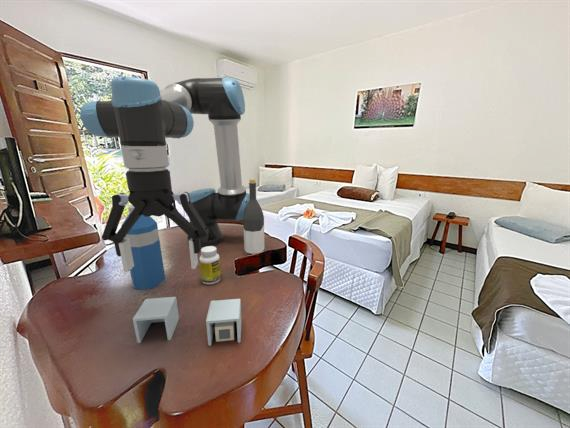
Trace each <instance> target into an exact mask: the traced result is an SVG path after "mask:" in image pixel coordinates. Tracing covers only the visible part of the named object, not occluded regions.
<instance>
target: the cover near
mask: <svg viewBox="0 0 570 428" xmlns="http://www.w3.org/2000/svg"><path fill="white" fill-rule="evenodd" d="M179 320H180V315H179V308H178V302H177V297H176V296H168V297H167V296H166V297H155V298H154V297H153V298H145V299H144V301H143V302H142V304H141V306H140V307H139V308H138V310H137V312H136V313H135V314H134V316H133V318H132V321H133V327H134V333H135V338H136V342H137V344H141V343H142V340H143V339H144V337H145V335H146V333H147V332H148V329H149V328H150V326H151V324H152V323H162V322H164V325H165V331H166V337H167V341H171V340H172V337H173V335H174V334H175V333H174V332H175V331H176V327H177V326H178V323H179Z"/></svg>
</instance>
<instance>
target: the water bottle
mask: <svg viewBox="0 0 570 428" xmlns="http://www.w3.org/2000/svg"><path fill="white" fill-rule="evenodd" d="M127 208H128V214H127V216H126V217H125V219H124V220H123V222H122V224H121V225H120V228H121V227H122V225H123V224H124V223H125V221H126V220H127V219H128V217H129V215H130V214H131V212H132V211H133V210H134V208H135V207H134V206H133V205H132V204H131V205H129V206H128V207H127ZM127 238H129V240H130V245H131V251H132V256H133V262H134V267H133V268H132V269H131V270H130V271H129V272H130V273H129V274H130V279H131V283H132V286H133V287H134V289H135V290H146V291H147V290H149V289H152V288H156V287H158V286H160V285H161V284H162V283H163V282H164V281H165V280H166V275H165V267H164V261H163V260H164V259H163V254H162V249H161V241H160V233H159V228H158V223H157V221H156V220H155V219H154V218H153V217H152V216H149V217H145V216H144V215H141V216H140V217H139V219H138V220H137V221H136V223H135V224H134V225H133V227H132V228H131V229H130V231H129V232H128V233H127V235H126V237H125V238H124V239H127Z"/></svg>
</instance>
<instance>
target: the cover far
mask: <svg viewBox="0 0 570 428" xmlns="http://www.w3.org/2000/svg"><path fill="white" fill-rule="evenodd" d="M241 302H242V301H241V298H231V299H221V300H217V299H216V300H210V303H209V307H208V310H207V311H208V312H207V315H206V320H205V326H206V334H207V335H206V336H207V343H208V344H207V345H208V346H209V347H211V346H212V343H213V338H214V333H215V323H220V322H231V321H235V324H236V333H237V336H236V337H237V343H238V344H240V343H241V341H242V339H241V338H242V303H241Z"/></svg>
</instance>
